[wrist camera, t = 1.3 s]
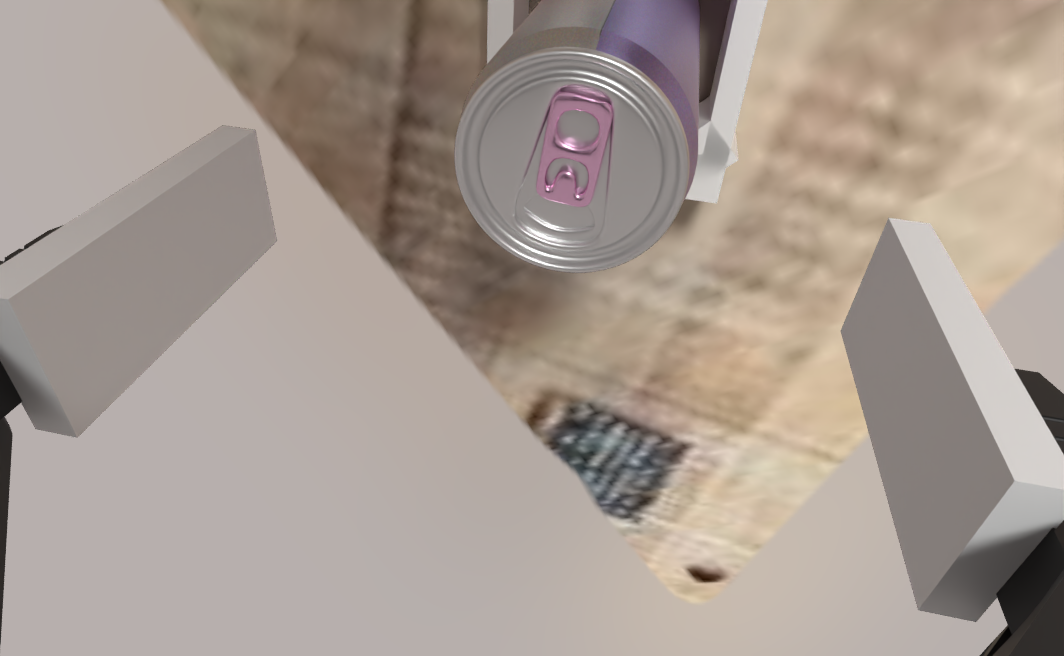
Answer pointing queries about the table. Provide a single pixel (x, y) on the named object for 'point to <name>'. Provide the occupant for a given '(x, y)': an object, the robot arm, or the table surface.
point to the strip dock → (714, 112)
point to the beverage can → (584, 131)
